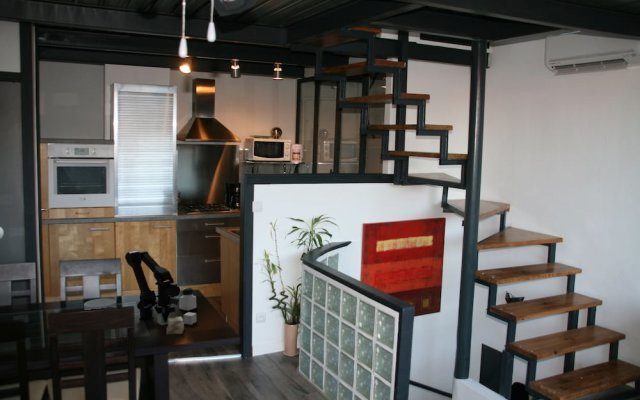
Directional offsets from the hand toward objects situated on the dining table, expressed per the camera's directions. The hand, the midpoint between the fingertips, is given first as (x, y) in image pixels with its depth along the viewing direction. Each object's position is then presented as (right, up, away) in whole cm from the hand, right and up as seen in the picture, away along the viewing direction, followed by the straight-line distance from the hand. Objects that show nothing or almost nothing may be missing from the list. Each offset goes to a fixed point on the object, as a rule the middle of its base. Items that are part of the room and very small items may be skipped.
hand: (163, 321), depth 321 cm
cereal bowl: (-39, +1, +13) cm, 41 cm away
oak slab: (+9, -3, -12) cm, 16 cm away
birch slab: (+10, 0, -13) cm, 16 cm away
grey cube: (+14, -1, +2) cm, 14 cm away
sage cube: (0, -1, 0) cm, 1 cm away
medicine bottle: (+7, +2, +27) cm, 28 cm away
